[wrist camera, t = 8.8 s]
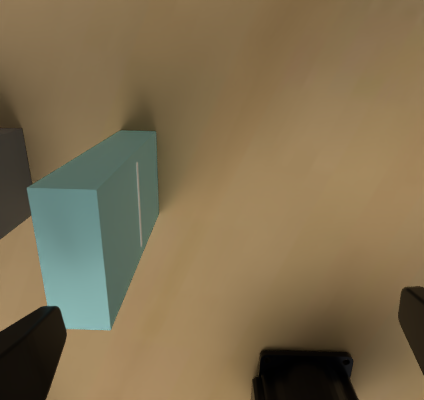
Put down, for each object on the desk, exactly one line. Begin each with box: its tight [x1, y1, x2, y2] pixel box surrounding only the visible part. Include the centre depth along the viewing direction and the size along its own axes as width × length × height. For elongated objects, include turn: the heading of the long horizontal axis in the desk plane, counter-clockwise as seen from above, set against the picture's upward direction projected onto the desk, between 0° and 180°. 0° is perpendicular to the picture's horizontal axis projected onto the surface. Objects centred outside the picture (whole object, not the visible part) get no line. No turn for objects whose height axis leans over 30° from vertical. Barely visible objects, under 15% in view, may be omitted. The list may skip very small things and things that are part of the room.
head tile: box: [27, 130, 159, 330], centre depth 15 cm, size 2×5×10 cm, turn 179°
